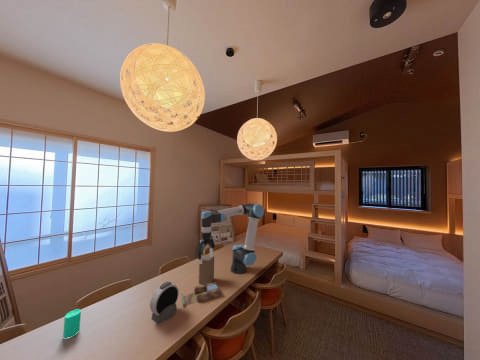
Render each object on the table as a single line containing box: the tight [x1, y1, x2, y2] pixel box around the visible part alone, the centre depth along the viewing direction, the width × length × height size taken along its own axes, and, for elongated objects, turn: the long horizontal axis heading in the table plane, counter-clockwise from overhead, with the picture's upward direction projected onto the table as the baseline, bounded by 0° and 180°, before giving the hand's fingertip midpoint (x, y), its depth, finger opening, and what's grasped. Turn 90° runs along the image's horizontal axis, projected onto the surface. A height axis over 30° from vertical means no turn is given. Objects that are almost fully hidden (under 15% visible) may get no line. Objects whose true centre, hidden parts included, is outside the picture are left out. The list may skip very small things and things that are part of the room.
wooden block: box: [198, 254, 215, 285], centre depth 134 cm, size 10×10×20 cm
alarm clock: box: [149, 281, 180, 325], centre depth 98 cm, size 16×10×18 cm, turn 148°
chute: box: [180, 281, 221, 308], centre depth 115 cm, size 25×11×5 cm, turn 116°
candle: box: [62, 308, 82, 338], centre depth 84 cm, size 6×6×12 cm
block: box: [207, 283, 219, 291], centre depth 118 cm, size 7×6×4 cm
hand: (206, 259), depth 123 cm, fingers open, 13 cm apart
